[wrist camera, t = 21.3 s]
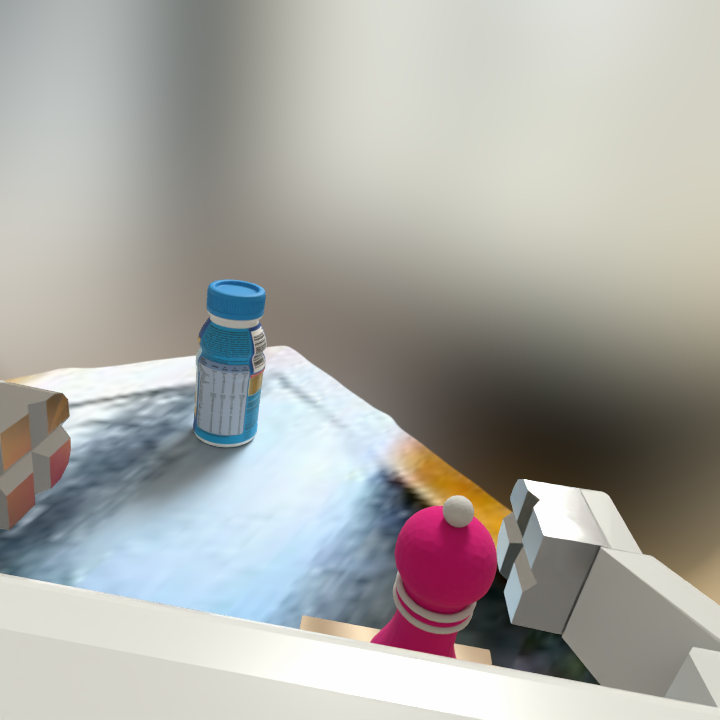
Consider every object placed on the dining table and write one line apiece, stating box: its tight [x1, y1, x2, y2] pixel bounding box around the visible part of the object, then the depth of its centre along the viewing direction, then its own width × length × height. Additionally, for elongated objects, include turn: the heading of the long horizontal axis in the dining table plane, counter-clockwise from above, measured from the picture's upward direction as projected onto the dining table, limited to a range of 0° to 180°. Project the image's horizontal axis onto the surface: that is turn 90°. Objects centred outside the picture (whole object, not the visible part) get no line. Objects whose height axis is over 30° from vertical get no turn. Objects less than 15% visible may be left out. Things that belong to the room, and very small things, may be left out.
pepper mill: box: [370, 496, 497, 659], centre depth 35 cm, size 7×7×20 cm
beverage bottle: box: [193, 280, 266, 447], centre depth 69 cm, size 8×8×20 cm
